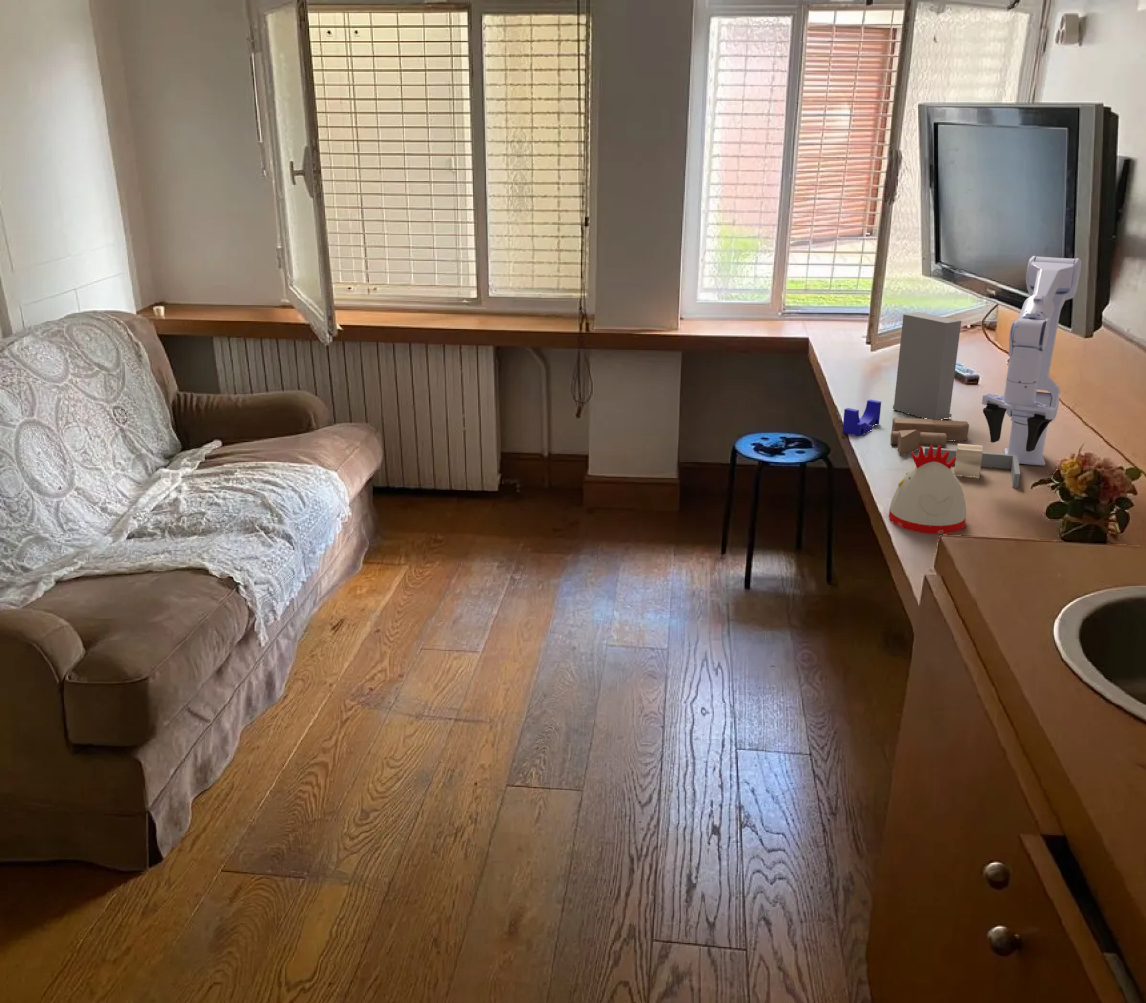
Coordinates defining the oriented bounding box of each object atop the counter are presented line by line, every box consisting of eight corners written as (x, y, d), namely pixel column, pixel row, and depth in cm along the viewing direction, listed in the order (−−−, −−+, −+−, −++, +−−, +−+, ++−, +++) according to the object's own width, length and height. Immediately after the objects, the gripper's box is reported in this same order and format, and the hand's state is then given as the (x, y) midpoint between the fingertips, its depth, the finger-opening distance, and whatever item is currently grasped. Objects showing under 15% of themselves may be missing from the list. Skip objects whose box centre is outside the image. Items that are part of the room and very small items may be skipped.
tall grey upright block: (951, 419, 257) (964, 320, 248) (934, 423, 254) (946, 323, 245) (909, 406, 268) (919, 311, 259) (892, 410, 265) (902, 314, 256)
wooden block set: (889, 413, 245) (968, 416, 241) (887, 435, 247) (965, 439, 243) (897, 433, 229) (981, 437, 226) (894, 457, 231) (978, 461, 228)
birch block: (954, 469, 222) (957, 443, 219) (978, 472, 220) (982, 445, 218) (953, 475, 218) (957, 449, 216) (978, 478, 216) (982, 451, 214)
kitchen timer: (882, 505, 202) (890, 433, 197) (954, 507, 201) (963, 434, 196) (897, 533, 189) (905, 456, 184) (973, 535, 188) (984, 457, 183)
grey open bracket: (919, 459, 228) (920, 446, 227) (1015, 468, 222) (1017, 455, 221) (916, 477, 217) (917, 464, 216) (1017, 487, 210) (1020, 474, 209)
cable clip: (858, 436, 245) (861, 412, 243) (842, 432, 248) (844, 409, 246) (884, 426, 253) (886, 402, 251) (868, 422, 256) (870, 399, 254)
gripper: (977, 376, 204) (968, 441, 209) (1046, 390, 193) (1036, 458, 198) (996, 370, 208) (987, 434, 213) (1066, 384, 197) (1054, 451, 202)
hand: (1012, 445), depth 205 cm, fingers open, 7 cm apart
